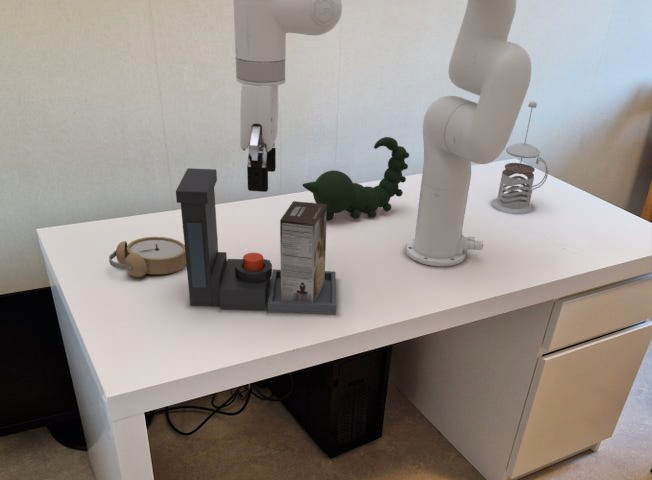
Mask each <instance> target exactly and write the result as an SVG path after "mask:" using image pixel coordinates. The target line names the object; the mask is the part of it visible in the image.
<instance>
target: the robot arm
mask: <svg viewBox="0 0 652 480" xmlns="http://www.w3.org/2000/svg"><path fill="white" fill-rule="evenodd" d="M516 9H517V0H467V4H466V8H465V12H464V15H463V19H462V22H461V25H460V29H459V31H458V34H457V38H456V40H455V44H454V47H453V50H452V54H451V56H450V60H449V64H448V78H449V80H450V81H451V83H452V84H453V85H454V86H455V87H457V88H459V89H461V90H463V91H465V92H468V93H470V94H474V95H476V96H479V99H478V102H474V101H472V100H469V99H466V98H464V97H460V96H456V95H444V96H441V97H439V98H437V99H434V101H432V103H430V105H429V106H428V108H426V111H425V114H424V116H423V121H422V122H423V123H422V140H423V164H422V173H421V180H420V181H421V183H420V191H419V199H418V200H419V201H418V208H417V216H416V223H415V233H414V239H411V240H409V241H408V242H407V244H406V245H405V246H406V247H405V253H406V255H407V256H408V257H409V258H410V259H412V260H413V261H415V262H417V263H420V264H421V265H422V264H423V265H426V266H431V267H452V266H455V265H459V264H461V263H462V262H464V261H465V259H466V255H467V252H468V250H473V251H482V250H483V249H484V241H483V240H476V237H475V236H465V235H463V229H464V222H465V217H466V216H465V215H466V211H467V210H466V209H467V203H468V197H469V190H470V186H471V180H472V179H471V178H472V163H474V164H478V165H487V164H490V163H493V162H494V161H496V160H497V159H498V158H499V157H500V156H501V154H502V153H503V152H504V150H505V149H506V148H507V145H508V142H509V141H510V138H511V135H512V133H513V130H514V128H515V125H516V122H517V119H518V117H519V114H520V111H521V108H522V106H523V104H524V101H525V98H526V95H527V92H528V89H529V87H530V83H531V79H532V61H531V58H530V55H529V53H528V51H527V50H526V49H525V48H524V47H522V46H521V45H519V44H518V43H514V42H511V41H508V37H509V34H510V31H511V28H512V24H513V21H514V18H515V14H516V11H517V10H516ZM342 12H343V4H342V0H233V21H234V22H233V23H234V48H235V49H234V50H235V51H234V52H235V81H236V82H237V83H239V84H241V91H240V129H239V130H240V131H239V132H240V134H239V135H240V137H239V138H240V139H239V140H240V142H239V143H240V144H239V145H240V146H239V147H240V149H241V150H242V151H246V150H247V149H248V155H247V165H246V169H247V171H246V172H247V175H246V176H247V190H248V191H249V192H259V193H260V192H261V193H266V192H268V191H269V172H270V173H271V172H272V173H274V172H275V171H276V168H277V166H276V165H277V164H276V163H277V161H276V160H277V159H276V158H277V157H276V154H277V153H276V152H277V151H276V149H277V148H276V147H275V145H276V140H277V137H278V128H279V86H281V85H284V84H285V83H286V61H287V60H286V58H287V57H286V55H287V54H286V53H287V52H286V51H287V50H286V49H287V48H286V46H287V45H286V43H287V37H286V36H287V34H299V35H306V36H321V35H324V34H326V33H329V32H330V31H332V30H333V29H334V28H335V27H336V26H337V24H338V23H339V21H340V19H341V16H342Z"/></svg>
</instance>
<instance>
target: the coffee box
mask: <svg viewBox="0 0 652 480" xmlns="http://www.w3.org/2000/svg"><path fill="white" fill-rule="evenodd" d="M326 219H327V204H317V203H316V202H307V201H295V200H294V201H292V202H291V204H290V205H289V207H288V208H287V210H286V211H285V213H284V214H283V215H282V216H281V218H280V219H279V230H280V231H279V237H280V238H279V239H280V240H279V242H280V244H279V245H280V248H279V249H280V270H281V302H310V303H315V302H316V300H317V298H318V296H319V294H320V292H321V290H322V288H323V286H324V284H325V271H326V248H327V220H326Z"/></svg>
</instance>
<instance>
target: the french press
mask: <svg viewBox="0 0 652 480" xmlns="http://www.w3.org/2000/svg"><path fill="white" fill-rule="evenodd" d="M527 107H528V108H531V110H530V113H529V119H528V124H527V128H526V133H525V138H524V142H520V143H519V142H518V143H514V144H513V143H512V144H510V145H508V146H506V147H505V153H507V155H510V156H512V157H516V158H520V162H509V163H506V164H505V165H504V169H503V170H502V172H501V177H500V182H499V188H498V193H497V198H496V199H494V200H493V201H492V203H491V205H492V206H493V208H495V209H496V210H498V211H501V212H504V213H508V214H519V215H521V214H527V213H529V212H531V211H532V209H533V207H532V205H530V204H531V203H530V202H531V198H532V194H533V191H534V190H537V189H539V188H540V187H542V186H543V185H544V184H545V182H546V180H547V178H548V175H549V167H548V164H547V162H546V161H545V160H544V159H543V158H542V157H540V155H541V151H540V150H539V149H538V148H537V147H536V146H534V145H532V144H531V143H530V144H529V143H527V142H526V141H527V137H528V132H529V127H530V122H531V118H532V117H531V116H532V112H533V109H536V108H537V102H536V101H529V103H528V105H527ZM534 158H536V160H535V161H536V162H535V164H536V165H537V166H538V165H539V162H542V163H543V164H544V165H545V173H544V176H543V178H542V179H541V181H540V182H539V183H537V184H534V181H535V173H534V172H535V168H534V167H533V166H532V165H529V164H526V163H522V161H523V159H534ZM516 174H517V175H516ZM513 175H514V176H513ZM521 175H524V176H525V177H523V176H521ZM519 185H521V186H519ZM507 187H508V188H507ZM519 190H520V191H519Z"/></svg>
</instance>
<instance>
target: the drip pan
mask: <svg viewBox="0 0 652 480" xmlns="http://www.w3.org/2000/svg"><path fill="white" fill-rule="evenodd" d="M336 276H337V275H336V271H335V270H334V271H331V270H325V284H324V286H323V288H322V290H321V292H320V294H319V296H318V298H317V300H316V302H315V303H310V302H281V269H276V268H275V269H273V268H272V276H271V277H270V284H269V291H268V298H267V313H269V314H293V315H294V314H296V315H297V314H299V315H325V316H327V315H328V316H336V315H337V282H336V281H337V277H336Z"/></svg>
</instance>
